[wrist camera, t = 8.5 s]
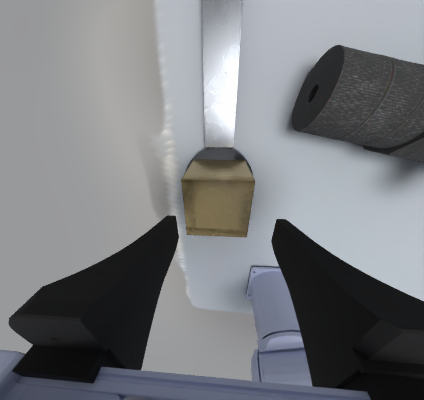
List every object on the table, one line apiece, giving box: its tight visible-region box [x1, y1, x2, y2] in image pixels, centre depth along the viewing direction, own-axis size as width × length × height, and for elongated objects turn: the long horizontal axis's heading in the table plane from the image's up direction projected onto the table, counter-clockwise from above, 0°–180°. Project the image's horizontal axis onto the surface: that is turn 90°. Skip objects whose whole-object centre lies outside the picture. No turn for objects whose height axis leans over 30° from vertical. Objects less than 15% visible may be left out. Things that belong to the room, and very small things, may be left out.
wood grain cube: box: [181, 159, 255, 237], centre depth 15 cm, size 6×6×6 cm
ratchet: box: [186, 0, 253, 176], centre depth 14 cm, size 22×8×5 cm, turn 0°
